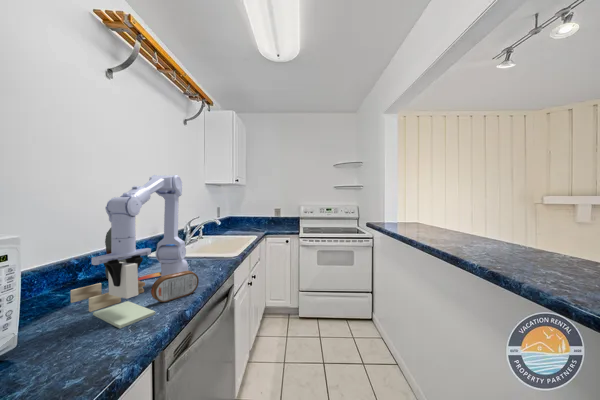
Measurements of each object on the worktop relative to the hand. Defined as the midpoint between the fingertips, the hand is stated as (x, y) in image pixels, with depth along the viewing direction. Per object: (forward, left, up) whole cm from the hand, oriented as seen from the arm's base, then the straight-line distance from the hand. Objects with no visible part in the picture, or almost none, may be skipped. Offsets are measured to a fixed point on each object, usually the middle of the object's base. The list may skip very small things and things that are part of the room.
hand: (124, 283), depth 69 cm
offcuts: (-11, -19, -9) cm, 24 cm away
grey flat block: (0, 0, -3) cm, 3 cm away
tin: (-15, +2, -9) cm, 18 cm away
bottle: (-17, -44, -9) cm, 48 cm away
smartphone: (-21, -32, -10) cm, 39 cm away
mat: (0, 0, -9) cm, 9 cm away
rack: (0, -19, -9) cm, 21 cm away
